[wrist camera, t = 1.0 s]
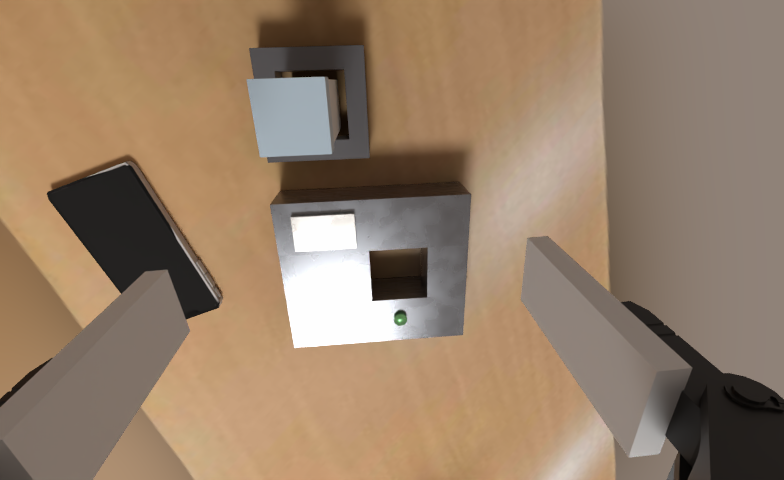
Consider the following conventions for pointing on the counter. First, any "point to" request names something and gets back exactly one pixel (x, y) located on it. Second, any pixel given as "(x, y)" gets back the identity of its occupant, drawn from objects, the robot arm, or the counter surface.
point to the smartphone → (134, 234)
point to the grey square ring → (323, 59)
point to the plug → (295, 115)
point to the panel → (352, 261)
